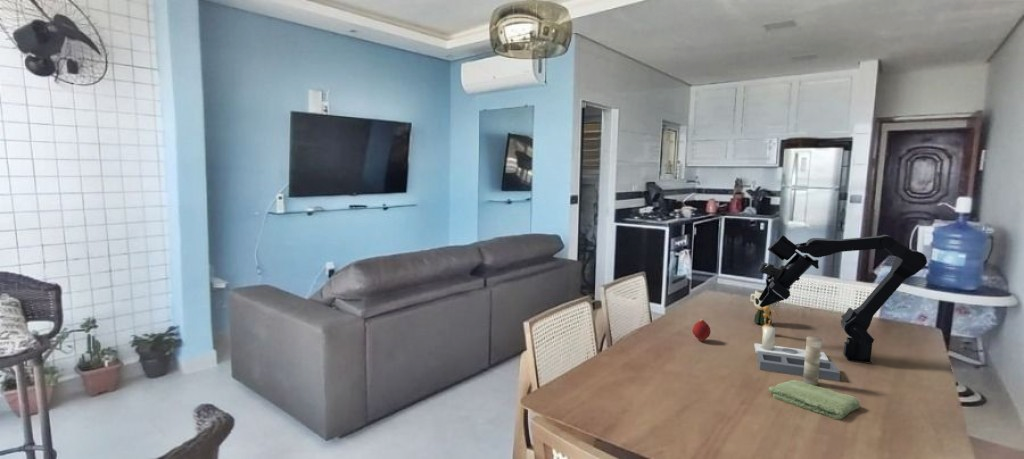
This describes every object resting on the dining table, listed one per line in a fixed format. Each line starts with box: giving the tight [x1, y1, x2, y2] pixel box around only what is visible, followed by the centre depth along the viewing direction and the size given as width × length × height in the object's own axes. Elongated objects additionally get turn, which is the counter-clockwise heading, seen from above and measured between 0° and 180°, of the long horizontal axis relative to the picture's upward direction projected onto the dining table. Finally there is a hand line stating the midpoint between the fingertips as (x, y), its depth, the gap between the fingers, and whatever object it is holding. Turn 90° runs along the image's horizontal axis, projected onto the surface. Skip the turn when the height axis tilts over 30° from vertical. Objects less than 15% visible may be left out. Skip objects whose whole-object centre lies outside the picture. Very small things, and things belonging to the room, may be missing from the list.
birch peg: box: [802, 335, 823, 386], centre depth 138 cm, size 4×4×13 cm
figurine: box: [754, 305, 780, 333], centre depth 180 cm, size 8×6×12 cm
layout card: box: [753, 326, 830, 361], centre depth 161 cm, size 20×8×8 cm, turn 68°
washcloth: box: [768, 379, 861, 420], centre depth 127 cm, size 13×18×3 cm
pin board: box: [756, 352, 841, 382], centre depth 148 cm, size 20×9×2 cm, turn 68°
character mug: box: [749, 289, 780, 326], centre depth 193 cm, size 11×7×13 cm, turn 39°
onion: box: [692, 318, 711, 342], centre depth 172 cm, size 6×6×8 cm
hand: (760, 303), depth 168 cm, fingers open, 9 cm apart
